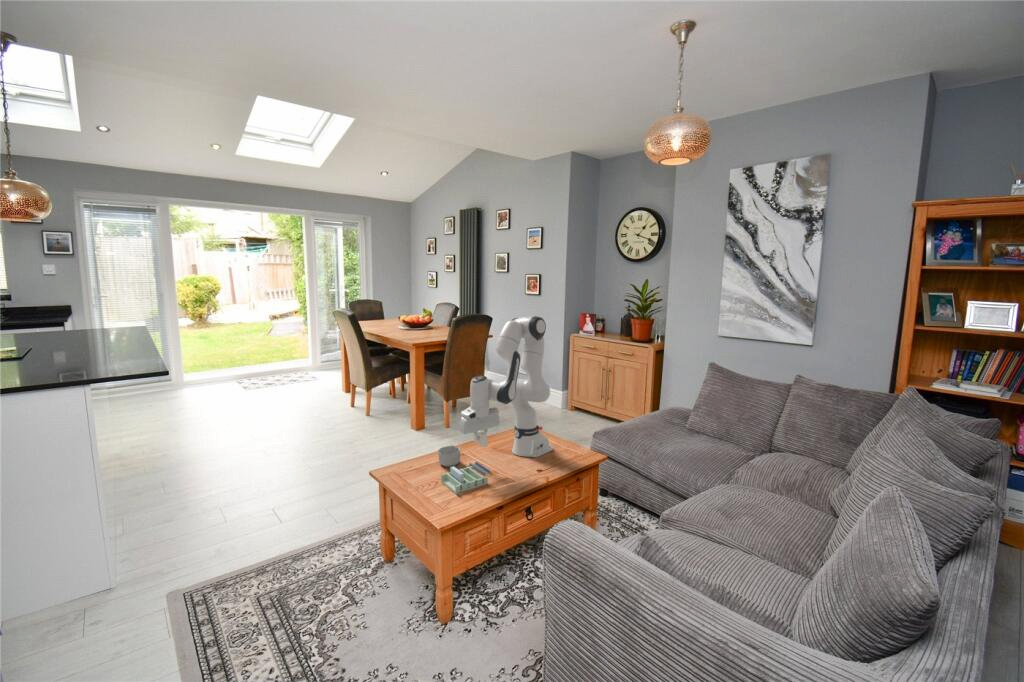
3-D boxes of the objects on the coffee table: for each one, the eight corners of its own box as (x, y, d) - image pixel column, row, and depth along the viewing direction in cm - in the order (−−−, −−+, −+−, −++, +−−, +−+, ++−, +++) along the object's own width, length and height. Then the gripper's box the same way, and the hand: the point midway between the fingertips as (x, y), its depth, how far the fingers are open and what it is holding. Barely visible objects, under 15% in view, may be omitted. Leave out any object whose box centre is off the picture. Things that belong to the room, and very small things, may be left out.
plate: (477, 441, 220) (476, 429, 219) (487, 446, 212) (486, 433, 212) (474, 442, 219) (473, 430, 218) (484, 447, 211) (483, 434, 211)
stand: (477, 464, 224) (477, 460, 224) (491, 473, 213) (491, 470, 213) (468, 466, 221) (468, 463, 221) (482, 476, 211) (482, 472, 210)
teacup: (456, 470, 217) (456, 454, 216) (434, 468, 219) (434, 452, 218) (465, 459, 230) (464, 443, 229) (444, 457, 233) (444, 442, 231)
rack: (471, 473, 214) (471, 459, 212) (487, 484, 202) (487, 469, 201) (441, 482, 204) (440, 467, 203) (456, 494, 193) (455, 478, 192)
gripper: (494, 404, 221) (495, 431, 224) (457, 413, 210) (458, 441, 212) (501, 408, 216) (502, 435, 219) (464, 416, 205) (465, 445, 207)
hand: (480, 438), depth 215 cm, fingers closed on plate, 2 cm apart
